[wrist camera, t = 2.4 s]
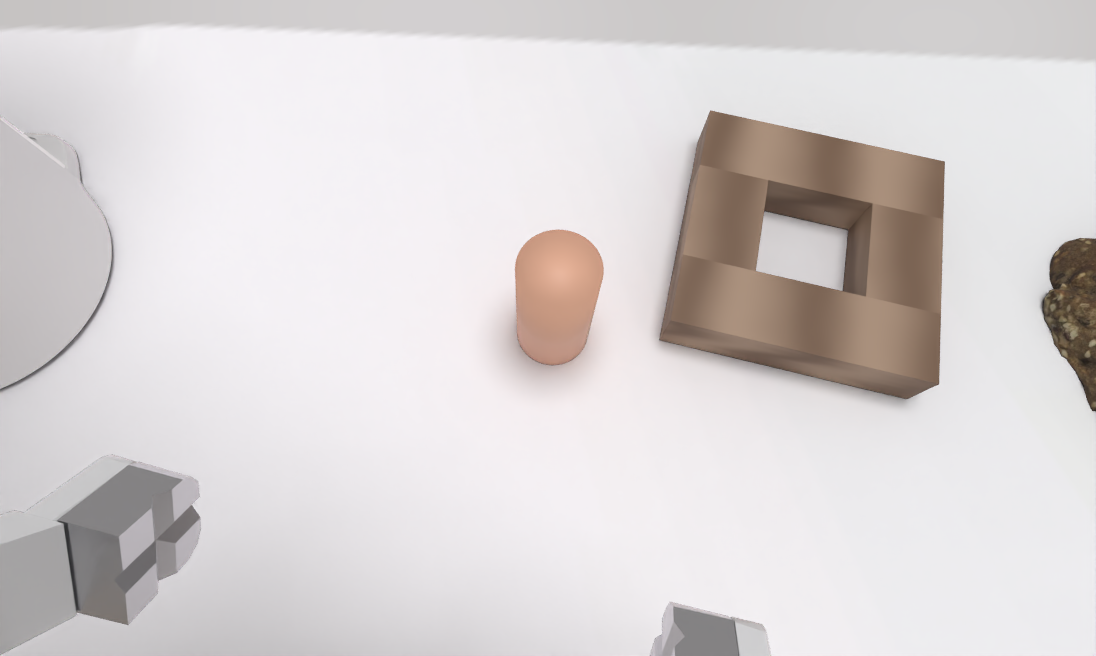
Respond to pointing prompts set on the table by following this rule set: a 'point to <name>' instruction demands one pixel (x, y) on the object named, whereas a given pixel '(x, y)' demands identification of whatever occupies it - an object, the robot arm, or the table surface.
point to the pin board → (797, 307)
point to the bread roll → (1075, 309)
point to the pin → (556, 295)
